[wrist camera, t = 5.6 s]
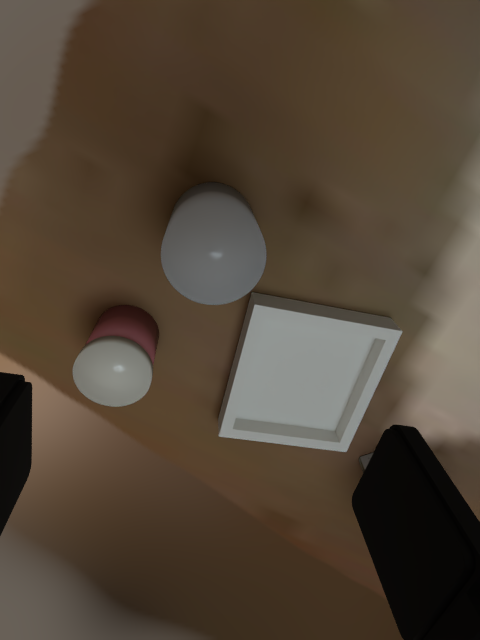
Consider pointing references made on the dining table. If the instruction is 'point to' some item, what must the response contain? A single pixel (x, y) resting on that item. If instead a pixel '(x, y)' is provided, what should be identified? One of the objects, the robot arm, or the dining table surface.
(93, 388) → the jam jar
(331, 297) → the dining table surface
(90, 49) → the dining table surface
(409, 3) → the dining table surface
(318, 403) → the tray
